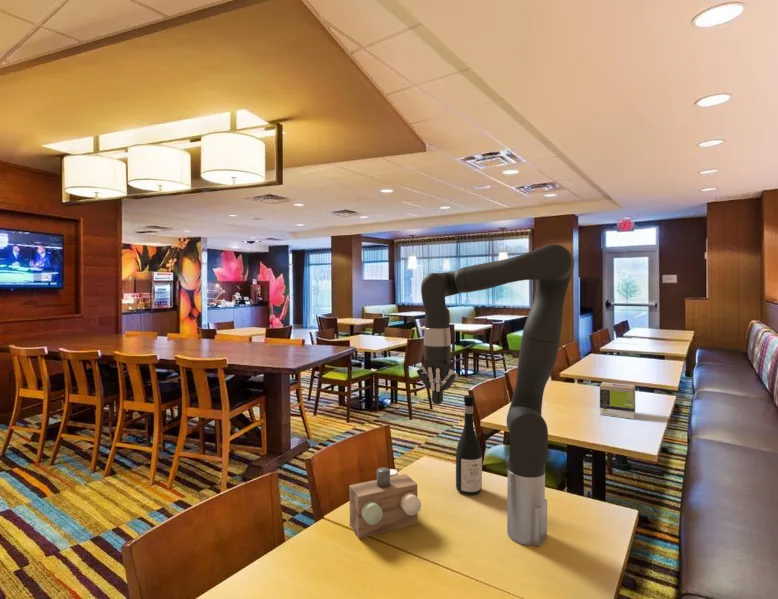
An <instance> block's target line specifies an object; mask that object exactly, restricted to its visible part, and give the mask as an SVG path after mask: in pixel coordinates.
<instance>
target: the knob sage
mask: <svg viewBox="0 0 778 599" xmlns="http://www.w3.org/2000/svg"><path fill="white" fill-rule="evenodd" d="M361 515H362V517H363V518H364V519H365V521H366V522H367V523H368V524H369V525H375V524H377V523H379V522H380V520H381V519H382V516H383V511H382V509H381V508H380V507H379V505H378V504H377V503H376V502H375V501H368V502H366V503H365V504H363V506H362V509H361Z"/></svg>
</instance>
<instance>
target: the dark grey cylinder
mask: <svg viewBox="0 0 778 599" xmlns="http://www.w3.org/2000/svg"><path fill="white" fill-rule="evenodd" d="M390 469H391V468H388V467H383V466H382V467H379V468H377V469H376V480H377V486H378V487H381V488H386V487H389V486H390Z"/></svg>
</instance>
